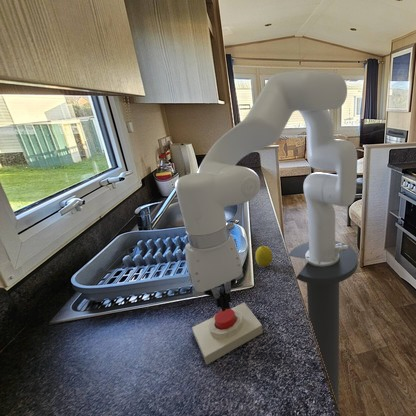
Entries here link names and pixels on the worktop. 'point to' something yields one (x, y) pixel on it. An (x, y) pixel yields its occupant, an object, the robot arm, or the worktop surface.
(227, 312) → the button
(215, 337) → the switch block
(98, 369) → the worktop surface
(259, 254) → the lemon
